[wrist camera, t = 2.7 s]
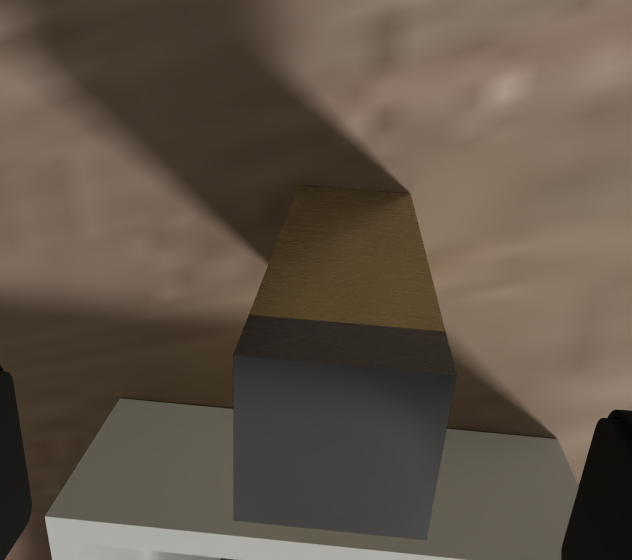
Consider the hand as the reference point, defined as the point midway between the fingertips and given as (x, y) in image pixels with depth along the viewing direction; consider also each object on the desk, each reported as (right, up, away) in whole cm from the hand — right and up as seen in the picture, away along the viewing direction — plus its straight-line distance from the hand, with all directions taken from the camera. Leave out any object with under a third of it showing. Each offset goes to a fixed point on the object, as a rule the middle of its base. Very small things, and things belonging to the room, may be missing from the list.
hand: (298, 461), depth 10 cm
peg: (+1, +4, +7) cm, 8 cm away
